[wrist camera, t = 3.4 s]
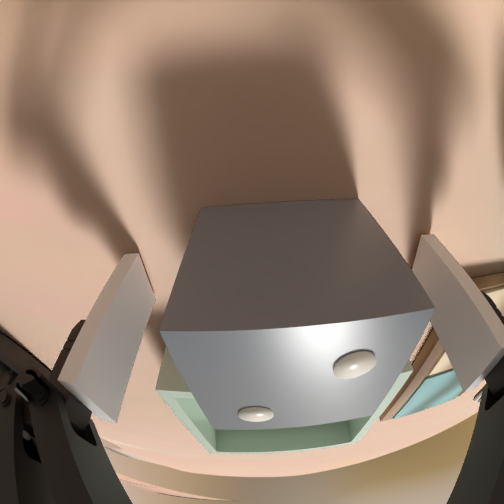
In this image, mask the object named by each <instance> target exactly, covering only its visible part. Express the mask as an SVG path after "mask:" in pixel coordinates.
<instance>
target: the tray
mask: <svg viewBox="0 0 504 504" xmlns="http://www.w3.org/2000/svg"><path fill="white" fill-rule="evenodd" d="M412 372H413V368H412V365H411V362H410V360H408V362H407V363H406V365H405V367H404V368H403V370H402V372H401V373H400V375H399V376H398V378H397V380H396V381H395V383H394V384H393V386H392V387H391V389H390V390H389V392H388V393H387V395H386V396H385V398H384V399H383V401H382V402H381V403H380V405H379V406H378V408H377V409H376V410H375V412H374V413H373V414H372V415H371V416H367V417H362V418H357V419H352V420H346V421H340V422H334V423H327V424H320V425H312V426H303V427H292V428H279V429H257V430H223V429H213V427H212V426H211V424H210V423H209V421H208V420H207V418H206V416H205V415H204V413H203V411H202V410H201V408H200V407H199V405H198V403H197V402H196V400H195V398H194V396H193V395H192V393H191V391H190V390H189V388H188V386H187V384H186V382H185V381H184V379H183V377H182V375H181V373H180V372H179V370H178V368H177V366H176V364H175V362H174V360H173V358H172V356H171V354H170V353H169V351H168V349H167V347H166V348H165V352H164V356H163V360H162V364H161V368H160V372H159V376H158V380H157V385H156V389H155V390H156V391H157V392H158V394H159V395H160V396H161V398H162V399H163V400H164V401H165V403H166V404H167V405H168V406H169V408H170V409H171V410H172V411H173V413H174V414H175V415H176V416H177V417H178V419H179V420H180V421H181V422H182V423H183V425H184V426H185V427H186V428H187V429H188V430H189V431H190V432H191V434H192V435H193V436H194V437H195V438H196V439H197V440H198V441H199V442H200V443H201V444H202V446H203V447H204V448H205V449H206V450H207V451H208V452H209V453H221V454H270V453H287V452H299V451H308V450H316V449H324V448H330V447H337V446H342V445H348V444H353V443H357V442H358V441H359V440H360V439H361V438H362V437H363V436H364V435H365V433H366V432H367V431H368V430H369V429H370V428H371V426H372V425H373V424H374V423H375V422H376V420H377V419H378V418H379V417H380V416H381V414H382V413H383V412H384V411H385V409H386V408H387V407H388V405H389V404H390V403H391V401H392V400H393V399H394V397H395V396H396V395H397V393H398V392H399V391H400V389H401V388H402V386H403V385H404V383H405V382H406V380H407V379H408V378H409V376H410V375H411V373H412Z"/></svg>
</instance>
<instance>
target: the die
mask: <svg viewBox="0 0 504 504" xmlns="http://www.w3.org/2000/svg"><path fill="white" fill-rule="evenodd" d="M434 310H435V306H434V304H433V303H432V301H431V300H430V298H429V296H428V295H427V293H426V291H425V290H424V288H423V287H422V285H421V283H420V282H419V280H418V279H417V277H416V276H415V274H414V273H413V271H412V270H411V268H410V267H409V265H408V264H407V262H406V261H405V259H404V258H403V257H402V255H401V254H400V252H399V251H398V249H397V248H396V247H395V245H394V244H393V243H392V241H391V240H390V238H389V237H388V236H387V234H386V233H385V232H384V230H383V229H382V228H381V226H380V225H379V224H378V223H377V221H376V220H375V219H374V217H373V216H372V215H371V214H370V212H369V211H368V210H367V209H366V207H365V206H364V205H363V204H362V202H361V201H360V200H359V199H330V200H305V201H286V202H269V203H254V204H240V205H228V206H216V207H205V208H202V209H201V211H200V214H199V216H198V219H197V222H196V224H195V227H194V230H193V232H192V235H191V238H190V240H189V243H188V246H187V248H186V251H185V254H184V257H183V260H182V262H181V265H180V268H179V271H178V274H177V277H176V280H175V283H174V286H173V289H172V292H171V295H170V298H169V301H168V304H167V307H166V310H165V313H164V316H163V320H162V323H161V326H160V329H159V332H160V334H161V336H162V338H163V340H164V343H165V345H166V347H167V349H168V351H169V353H170V354H171V356H172V358H173V360H174V362H175V364H176V366H177V368H178V370H179V372H180V373H181V375H182V377H183V379H184V381H185V382H186V384H187V386H188V388H189V390H190V391H191V393H192V395H193V396H194V398H195V400H196V402H197V403H198V405H199V407H200V408H201V410H202V411H203V413H204V415H205V416H206V418H207V420H208V421H209V423H210V424H211V426H212V427H213V429H223V430H257V429H279V428H292V427H303V426H312V425H320V424H327V423H334V422H340V421H346V420H352V419H357V418H362V417H367V416H371V415H372V414H373V413H374V412H375V410H376V409H377V408H378V406H379V405H380V403H381V402H382V401H383V399H384V398H385V396H386V395H387V393H388V392H389V390H390V389H391V387H392V386H393V384H394V383H395V381H396V380H397V378H398V376H399V375H400V373H401V372H402V370H403V368H404V367H405V365H406V363H407V362H408V360H409V358H410V356H411V355H412V353H413V351H414V349H415V347H416V346H417V344H418V342H419V340H420V338H421V336H422V334H423V332H424V330H425V329H426V327H427V325H428V322H429V320H430V318H431V316H432V314H433V312H434Z"/></svg>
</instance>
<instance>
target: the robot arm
mask: <svg viewBox="0 0 504 504" xmlns="http://www.w3.org/2000/svg"><path fill="white" fill-rule="evenodd" d="M412 271H413V273H414V274H415V276H416V277H417V279H418V280H419V282H420V283H421V285H422V287H423V288H424V290H425V291H426V293H427V295H428V296H429V298H430V300H431V301H432V303H433V304H434V306H435V310H434V312H433V314H432V316H431V318H430V322H431V324H432V326H433V328H434V330H435V332H436V334H437V336H438V338H439V340H440V342H441V344H442V346H443V348H444V350H445V352H446V354H447V356H448V358H449V361H450V363H451V365H452V367H453V369H454V372H455V374H456V376H457V379H458V381H459V383H460V386H461V388H462V391H463V393H465V392H467V391H470V390H472V389H474V388H476V387H477V386H478V385H479V384H480V383H481V382H482V381H483V380H484V379H485V380H486V383H487V384H486V385H485V386H484V387H483V388H482V389H481V390H480V391H479V392H478V393H477V394H476V395H475V396H474V399H473V400H474V401H475V400H476V399H477V398H478V397H479V396H480V395H481V394H482V396H481V398H480V399H479V400H478V402H480V406H479V411H478V416H477V420H476V424H475V428H474V431H473V435H472V439H471V442H470V446H469V449H468V452H467V455H466V458H465V461H464V463H463V466H462V469H461V472H460V474H459V477H458V479H457V482H456V484H455V486H454V489H453V491H452V493H451V495H450V498H449V500H448V502H447V504H504V316H502V313H501V312H500V310H499V309H497V306H496V305H495V303H494V302H493V300H492V299H491V298H490V297H489V296H488V295H487V294H486V293H485V292H483V291H482V290H481V291H480V290H479V288H478V287H477V286H476V284H475V283H474V282H473V280H472V279H471V278H470V277H469V275H468V274H467V273H466V271H465V270H464V269H463V268H462V266H461V265H460V264H459V263H458V262H457V260H456V259H455V258H454V257H453V256H452V254H451V253H450V252H449V251H448V250H447V249H446V247H445V246H444V245H443V244H442V243H441V242H440V241H439V240H438V238H437V237H436V236H435V235H434V234H429V235H421V238H420V242H419V245H418V249H417V253H416V257H415V260H414V264H413V267H412ZM155 301H156V298H155V295H154V293H153V290H152V288H151V285H150V282H149V280H148V277H147V274H146V272H145V269H144V266H143V264H142V261H141V258H140V255H139V253H132V254H124V255H123V257H122V258H121V260H120V262H119V263H118V265H117V266H116V268H115V270H114V271H113V273H112V275H111V276H110V278H109V280H108V281H107V283H106V285H105V286H104V288H103V290H102V292H101V293H100V295H99V297H98V299H97V300H96V302H95V304H94V306H93V308H92V309H91V311H90V313H89V315H88V317H87V319H86V320H81V321H80V322H79V323H78V324H77V325H76V326H75V327H74V328H73V329H72V331H71V333H70V335H69V337H68V339H67V340H68V341H66V343H65V345H64V347H63V350H62V351H61V353H60V355H59V357H58V359H57V361H56V363H55V365H54V368H53V370H52V372H50V371H49V370H48V369H47V368H45V367H44V366H43V365H42V364H41V363H40V362H38V361H37V360H36V359H35V358H34V357H32V356H31V355H30V354H29V353H27V352H26V351H25V350H24V349H22V348H21V347H20V346H18V345H17V344H16V343H14V342H13V341H12V340H10V339H9V338H8V337H6V336H5V335H3V334H2V333H0V504H132V502H131V500H130V499H129V497H128V495H127V493H126V492H125V490H124V488H123V486H122V484H121V482H120V481H119V479H118V477H117V475H116V473H115V471H114V469H113V467H112V465H111V463H110V460H109V458H108V456H107V454H106V452H105V449H104V447H103V445H102V442H101V440H100V437H99V435H98V432H97V430H96V427H95V425H94V423H93V421H92V419H91V418H90V417H91V414H92V413H94V414H95V415H96V416H97V417H98V418H100V419H102V420H106V421H111V422H115V423H117V420H118V416H119V412H120V409H121V405H122V402H123V398H124V394H125V391H126V388H127V384H128V381H129V378H130V374H131V371H132V368H133V365H134V362H135V358H136V355H137V352H138V349H139V346H140V343H141V340H142V337H143V334H144V332H145V329H146V326H147V323H148V320H149V317H150V315H151V312H152V309H153V306H154V304H155Z"/></svg>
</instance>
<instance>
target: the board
mask: <svg viewBox="0 0 504 504" xmlns="http://www.w3.org/2000/svg"><path fill="white" fill-rule="evenodd" d="M471 279H472V280H473V282H474V283H475V284H476V286H477V287H478V288H479V290H480V291H481V290H482V291H483V292H485V293H486V294H487V295H488V296H489V297H490V298H491V299H492V300H493V302H494V303H495V305H496V306H497V309H499V310H500V312H501V313H502V316H504V272H502V273H497V274H492V275H487V276H482V277H476V278H471ZM412 368H413V372H412V373H411V375H410V376H409V378H408V379H407V380H406V382H405V383H404V385H403V386H402V388H401V389H400V391H399V392H398V393H397V395H396V396H395V397H394V399H393V400H392V401H391V403H390V404H389V405H388V407H387V408H386V409H385V411H384V412H383V413H382V414H381V416H380V417H379V418H380V422H381V421H385V420H389V419H392V418H393V419H396V418H399V417H403V416H406V415H410V414H413V413H416V412H419V411H422V410H425V409H428V408H431V407H434V406H437V405H439V404H442V403H445V402H447V401H450V400H452V399H455V398H456V397H457V396H460V395H461V394H462V393H463V391H462V388H461V386H460V383H459V381H458V379H457V376H456V374H455V372H454V369H453V367H452V365H451V363H450V361H449V358H448V356H447V354H446V352H445V350H444V348H443V346H442V344H441V342H440V340H439V338H438V336H437V334H436V332H435V330H434V328H433V329H432V331H431V333H430V335H429V337H428V339H427V340H426V342H425V344H424V346H423V348H422V349H421V351H420V353H419V354H418V356H417V358H416V360H415V361H414V363H413V364H412Z"/></svg>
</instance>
